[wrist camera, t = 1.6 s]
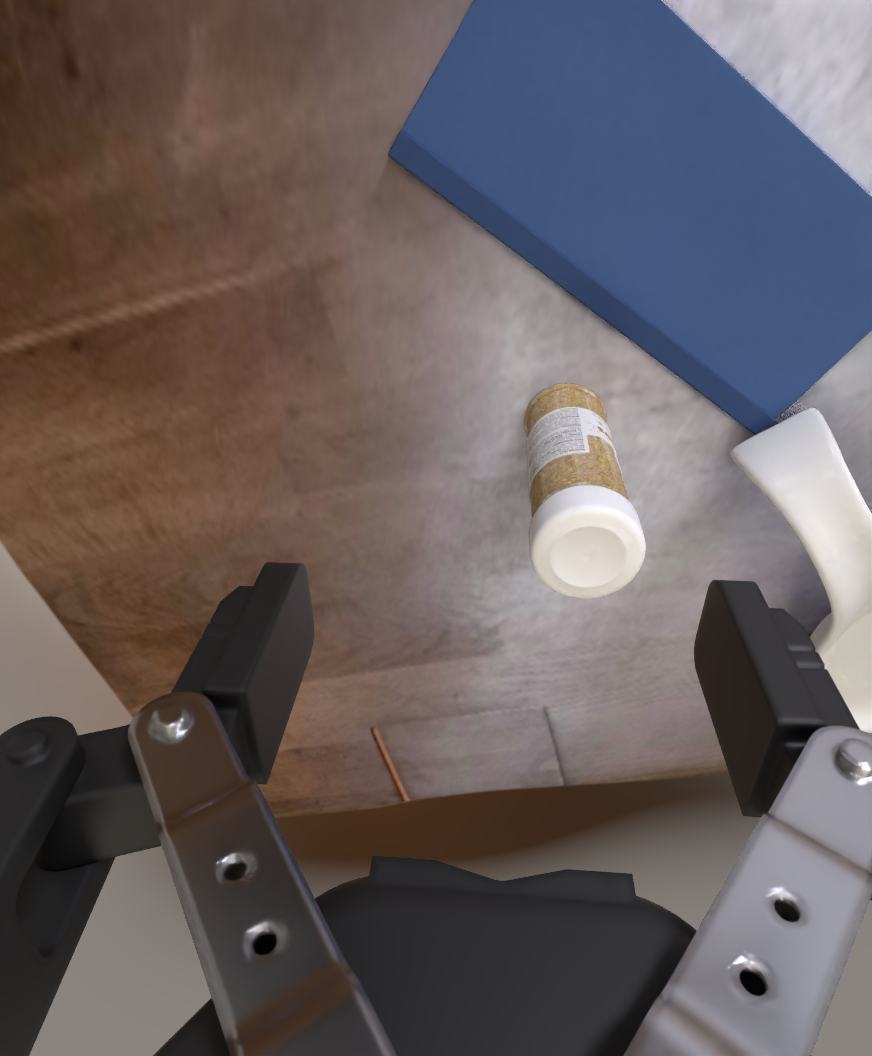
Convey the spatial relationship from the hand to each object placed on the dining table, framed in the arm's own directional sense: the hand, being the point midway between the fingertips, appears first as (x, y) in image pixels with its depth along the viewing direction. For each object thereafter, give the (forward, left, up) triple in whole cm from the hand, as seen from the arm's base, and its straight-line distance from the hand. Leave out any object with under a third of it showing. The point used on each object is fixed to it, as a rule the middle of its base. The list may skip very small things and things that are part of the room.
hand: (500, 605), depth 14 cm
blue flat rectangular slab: (+4, +7, -25) cm, 27 cm away
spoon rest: (+27, -1, -25) cm, 37 cm away
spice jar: (+7, -4, -26) cm, 27 cm away
